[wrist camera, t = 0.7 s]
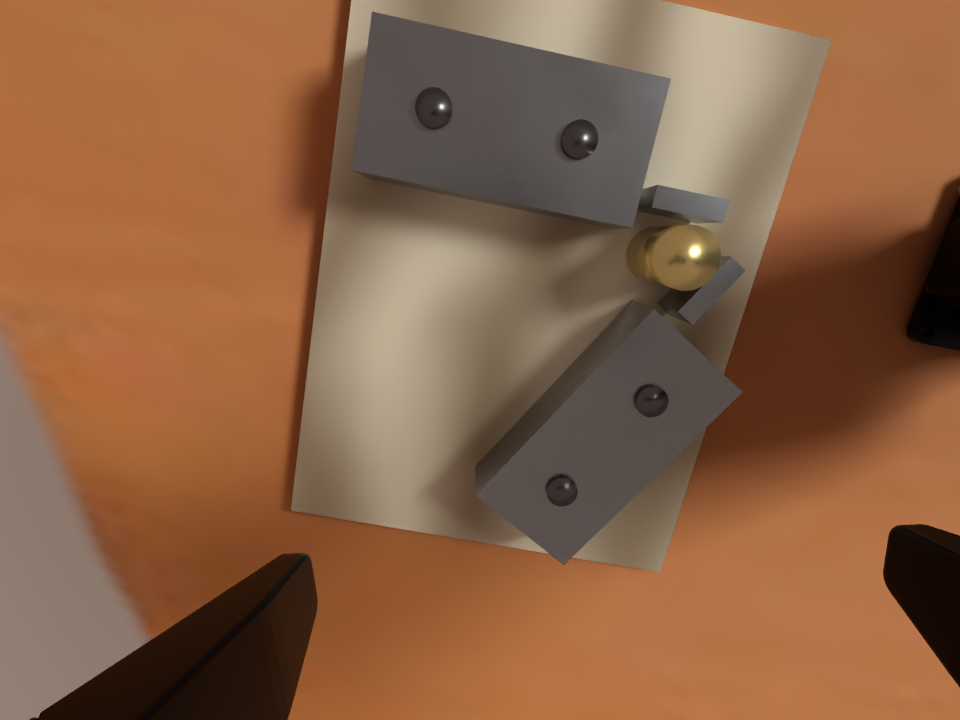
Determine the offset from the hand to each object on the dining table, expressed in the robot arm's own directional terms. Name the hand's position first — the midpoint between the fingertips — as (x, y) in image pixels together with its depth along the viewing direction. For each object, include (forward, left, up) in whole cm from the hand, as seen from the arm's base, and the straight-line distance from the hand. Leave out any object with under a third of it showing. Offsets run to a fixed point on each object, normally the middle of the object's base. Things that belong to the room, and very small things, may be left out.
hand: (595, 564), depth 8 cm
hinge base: (+1, -7, -12) cm, 14 cm away
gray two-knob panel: (-4, 0, -12) cm, 13 cm away
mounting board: (0, -3, -13) cm, 13 cm away
